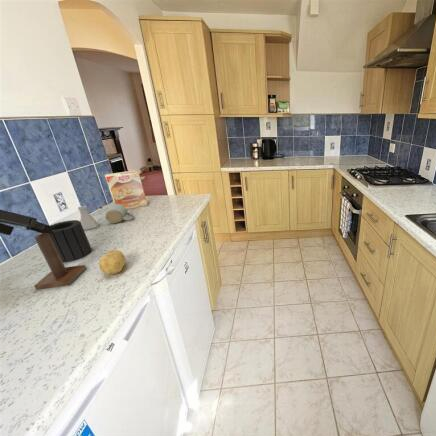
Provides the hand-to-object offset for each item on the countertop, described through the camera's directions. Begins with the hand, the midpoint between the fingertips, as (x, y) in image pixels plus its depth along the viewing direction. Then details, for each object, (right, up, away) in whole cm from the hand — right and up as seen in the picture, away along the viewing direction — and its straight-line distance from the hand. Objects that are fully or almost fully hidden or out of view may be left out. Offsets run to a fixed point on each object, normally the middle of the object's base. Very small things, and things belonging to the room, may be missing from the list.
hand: (31, 231), depth 76 cm
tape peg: (+9, -15, +1) cm, 18 cm away
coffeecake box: (-9, +11, +62) cm, 64 cm away
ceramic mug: (-2, +3, +44) cm, 44 cm away
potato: (+23, -13, +5) cm, 27 cm away
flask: (-13, 0, +38) cm, 40 cm away
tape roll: (+1, -10, +15) cm, 17 cm away
